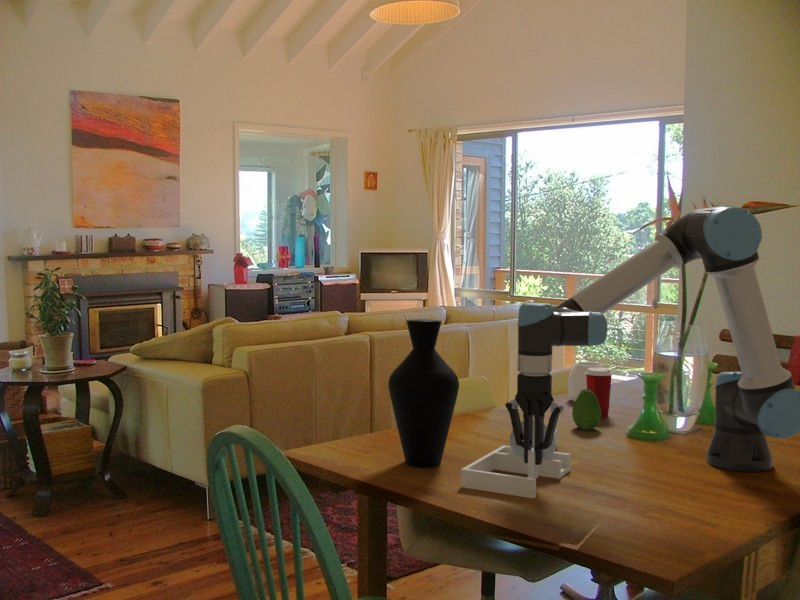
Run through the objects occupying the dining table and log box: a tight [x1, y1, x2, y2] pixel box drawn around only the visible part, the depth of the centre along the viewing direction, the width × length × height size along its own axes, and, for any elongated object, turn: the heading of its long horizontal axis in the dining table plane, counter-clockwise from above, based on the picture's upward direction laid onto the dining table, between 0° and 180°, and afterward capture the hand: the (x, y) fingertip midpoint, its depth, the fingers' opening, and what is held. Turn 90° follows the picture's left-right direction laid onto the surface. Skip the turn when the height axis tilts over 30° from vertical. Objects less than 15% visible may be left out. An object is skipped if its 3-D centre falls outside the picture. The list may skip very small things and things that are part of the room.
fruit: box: [571, 389, 602, 431], centre depth 243 cm, size 8×8×12 cm
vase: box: [387, 318, 460, 469], centre depth 205 cm, size 17×17×35 cm
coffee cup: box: [585, 367, 613, 419], centre depth 261 cm, size 8×8×15 cm
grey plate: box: [509, 418, 557, 459], centre depth 201 cm, size 11×1×11 cm, turn 61°
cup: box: [567, 361, 604, 403], centre depth 283 cm, size 13×13×14 cm
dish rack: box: [460, 445, 571, 499], centre depth 194 cm, size 17×25×4 cm
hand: (532, 478), depth 189 cm, fingers closed
